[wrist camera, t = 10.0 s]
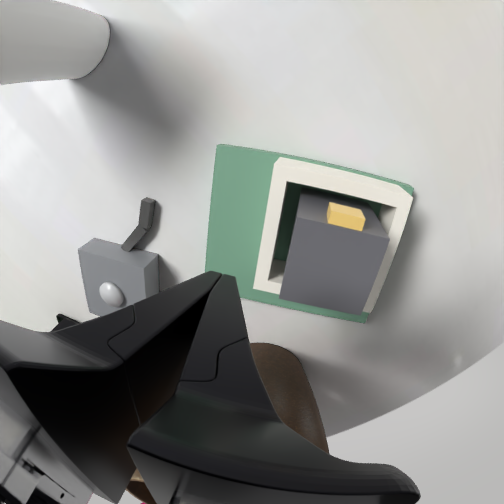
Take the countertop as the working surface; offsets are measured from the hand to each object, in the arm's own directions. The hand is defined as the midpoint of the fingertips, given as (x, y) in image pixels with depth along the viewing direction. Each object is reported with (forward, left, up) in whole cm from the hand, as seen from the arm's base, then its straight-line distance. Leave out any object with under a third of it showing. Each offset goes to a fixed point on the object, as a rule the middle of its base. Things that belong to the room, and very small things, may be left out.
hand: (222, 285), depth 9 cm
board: (-3, -3, -12) cm, 12 cm away
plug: (-1, -4, -11) cm, 11 cm away
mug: (+12, +19, -12) cm, 25 cm away
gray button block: (-8, +12, -12) cm, 18 cm away
